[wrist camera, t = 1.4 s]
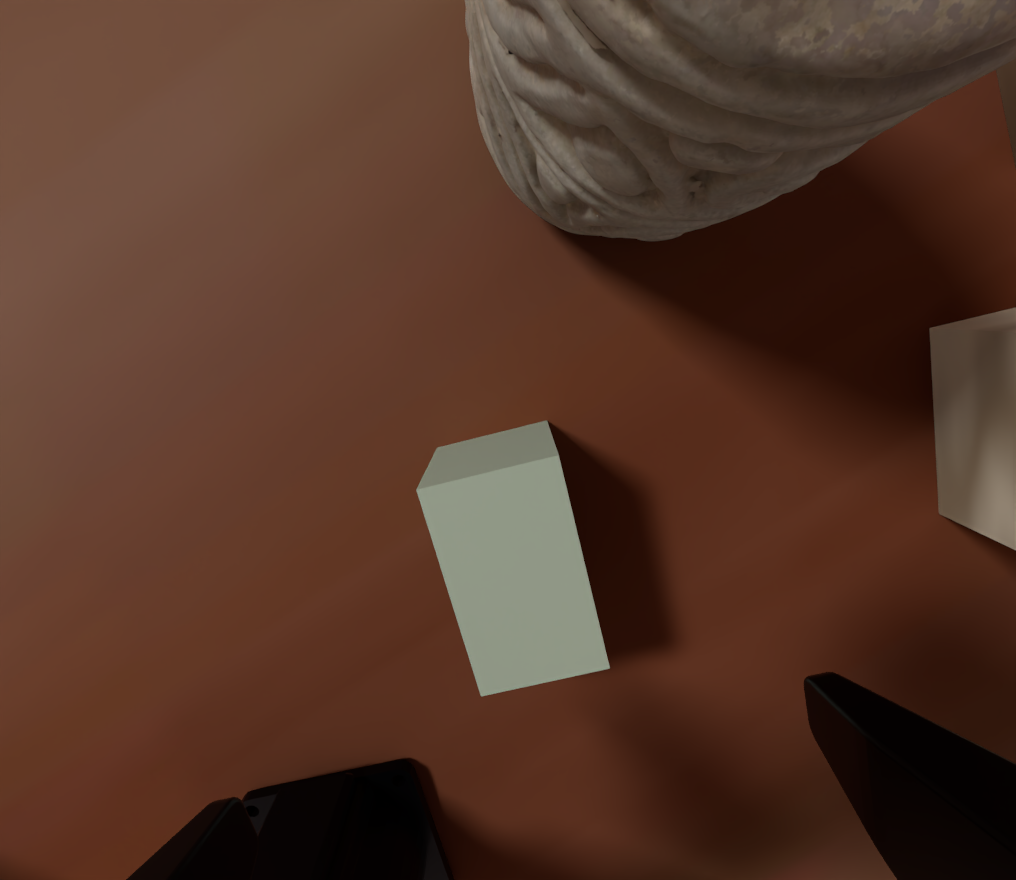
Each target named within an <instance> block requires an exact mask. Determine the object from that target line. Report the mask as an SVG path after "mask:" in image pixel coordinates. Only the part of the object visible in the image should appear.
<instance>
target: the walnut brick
mask: <svg viewBox="0 0 1016 880" xmlns="http://www.w3.org/2000/svg"><path fill="white" fill-rule="evenodd" d="M996 72H997V77H998V82H999V87H1000V92H1001V97H1002V102H1003V107H1004V112H1005V117H1006V122H1007V127H1008V132H1009V137H1010V142H1011V147H1012V152H1013V157H1014V162H1015V167H1016V58H1015V59H1014V60H1012V61H1010V62H1008V63H1007V64H1005V65H1003V66H1001V67H999V68H998V69H996Z"/></svg>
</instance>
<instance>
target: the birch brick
mask: <svg viewBox="0 0 1016 880" xmlns="http://www.w3.org/2000/svg"><path fill="white" fill-rule="evenodd" d="M929 331H930V350H931V369H932V389H933V408H934V427H935V446H936V466H937V485H938V504H939V514H940V515H943V516H945V517H947V518H949V519H951V520H953V521H955V522H957V523H959V524H961V525H963V526H966V527H968V528H970V529H972V530H974V531H976V532H978V533H980V534H982V535H984V536H986V537H989V538H991V539H993V540H995V541H997V542H999V543H1001V544H1003V545H1005V546H1007V547H1009V548H1012V549H1014V550H1016V308H1011V309H1007V310H1003V311H999V312H995V313H990V314H986V315H982V316H978V317H974V318H969V319H965V320H961V321H957V322H953V323H948V324H944V325H940V326H936V327H932V328H929Z"/></svg>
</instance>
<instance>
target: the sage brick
mask: <svg viewBox="0 0 1016 880" xmlns="http://www.w3.org/2000/svg"><path fill="white" fill-rule="evenodd" d="M416 490H417V493H418V497H419V500H420V503H421V506H422V509H423V513H424V516H425V519H426V522H427V525H428V529H429V532H430V535H431V538H432V541H433V545H434V548H435V551H436V554H437V557H438V561H439V564H440V567H441V570H442V573H443V576H444V580H445V583H446V586H447V589H448V592H449V596H450V599H451V602H452V605H453V608H454V612H455V615H456V618H457V621H458V624H459V628H460V631H461V634H462V637H463V640H464V644H465V647H466V650H467V653H468V656H469V659H470V663H471V666H472V669H473V672H474V675H475V679H476V682H477V685H478V688H479V691H480V695H481V696H486V695H490V694H495V693H499V692H504V691H509V690H513V689H518V688H522V687H527V686H532V685H536V684H541V683H545V682H550V681H555V680H559V679H564V678H568V677H573V676H578V675H582V674H587V673H591V672H596V671H600V670H605V669H610V666H609V662H608V658H607V654H606V650H605V646H604V641H603V637H602V633H601V629H600V625H599V621H598V616H597V612H596V608H595V604H594V600H593V596H592V591H591V587H590V583H589V579H588V575H587V571H586V566H585V562H584V558H583V554H582V550H581V546H580V541H579V537H578V533H577V529H576V525H575V521H574V516H573V512H572V508H571V504H570V500H569V496H568V491H567V487H566V483H565V479H564V475H563V471H562V466H561V462H560V458H559V454H558V451H557V448H556V445H555V443H554V440H553V437H552V434H551V431H550V428H549V425H548V422H547V421H543V422H539V423H535V424H531V425H527V426H523V427H519V428H515V429H511V430H507V431H503V432H499V433H495V434H491V435H487V436H482V437H478V438H474V439H470V440H466V441H462V442H458V443H454V444H450V445H446V446H442V447H438V448H437V449H436V451H435V453H434V455H433V457H432V459H431V461H430V463H429V465H428V467H427V469H426V471H425V473H424V475H423V477H422V479H421V481H420V483H419V485H418V487H417V489H416Z"/></svg>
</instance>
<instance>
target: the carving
mask: <svg viewBox="0 0 1016 880" xmlns="http://www.w3.org/2000/svg"><path fill="white" fill-rule="evenodd" d="M465 5H466V17H465V23H466V31H467V35H468V38H469V41H470V54H469V64H470V74H471V82H472V88H473V93H474V98H475V104H476V111H477V116H478V121H479V125H480V129H481V132H482V135H483V138H484V140H485V143H486V145H487V147H488V150H489V152H490V154H491V156H492V158H493V160H494V162H495V164H496V166H497V168H498V170H499V171H500V173H501V175H502V177H503V178H504V180H505V181H506V183H507V184H508V186H509V187H510V189H511V190H512V191H513V192H514V194H515V195H516V196H517V197H518V198H519V199H520V200H521V201H522V202H523V203H524V204H525V205H526V206H527V207H529V208H530V209H531V210H532V211H533V212H534V213H536V214H537V215H538V216H540V217H541V218H542V219H544V220H546V221H547V222H549V223H551V224H553V225H555V226H557V227H559V228H561V229H563V230H565V231H567V232H570V233H575V234H580V235H592V236H604V237H609V238H637V239H638V240H641V241H662V240H669V239H673V238H676V237H679V236H681V235H682V234H683V233H685V232H689V231H693V230H697V229H702V228H705V227H708V226H710V225H712V224H716V223H719V222H722V221H725V220H728V219H731V218H733V217H736V216H738V215H741V214H743V213H745V212H748V211H750V210H753V209H755V208H757V207H760V206H762V205H764V204H766V203H768V202H769V201H771V200H773V199H775V198H777V197H778V196H780V195H781V194H784V193H788V192H791V191H793V190H795V189H797V188H799V187H801V186H803V185H805V184H807V183H808V182H810V181H811V180H812V179H814V178H815V177H816V175H817V174H818V173H819V171H821V170H823V169H825V168H827V167H829V166H832V165H834V164H836V163H838V162H840V161H841V160H843V159H844V158H846V157H847V156H849V155H850V154H851V153H853V152H854V151H856V150H857V149H858V148H860V147H861V146H862V145H864V144H865V143H866V142H867V141H868V140H869V139H872V138H874V137H876V136H877V135H879V134H880V133H882V132H883V131H885V130H887V129H890V128H892V127H893V126H895V125H896V124H898V123H899V122H901V121H903V120H905V119H906V118H908V117H910V116H911V115H912V114H914V113H916V112H917V111H919V110H921V109H922V108H924V107H926V106H927V105H929V104H930V103H932V102H933V101H935V100H937V99H939V98H942V97H944V96H946V95H949V94H951V93H953V92H954V91H956V90H958V89H960V88H962V87H964V86H965V85H967V84H969V83H971V82H973V81H975V80H977V79H978V78H980V77H982V76H984V75H986V74H988V73H990V72H992V71H994V70H996V69H998V68H999V67H1001V66H1003V65H1005V64H1007V63H1008V62H1010V61H1012V60H1014V59H1015V58H1016V0H465Z"/></svg>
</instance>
